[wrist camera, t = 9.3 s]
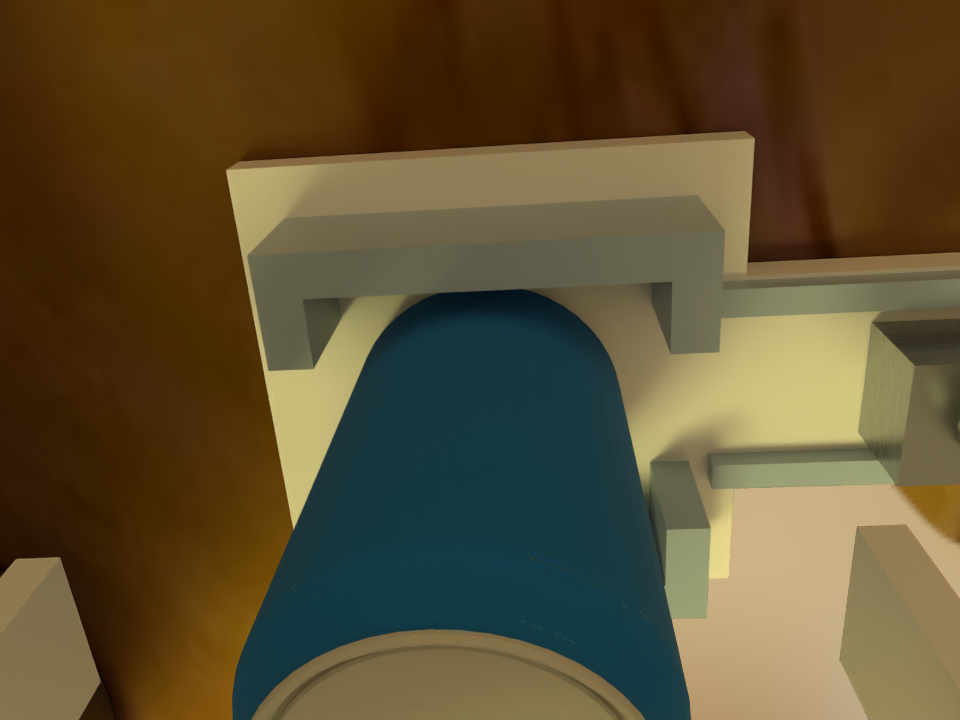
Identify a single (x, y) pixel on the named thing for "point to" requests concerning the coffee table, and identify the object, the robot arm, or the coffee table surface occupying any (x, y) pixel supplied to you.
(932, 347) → the bar
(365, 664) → the beverage can
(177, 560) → the coffee table surface
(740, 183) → the dock station
